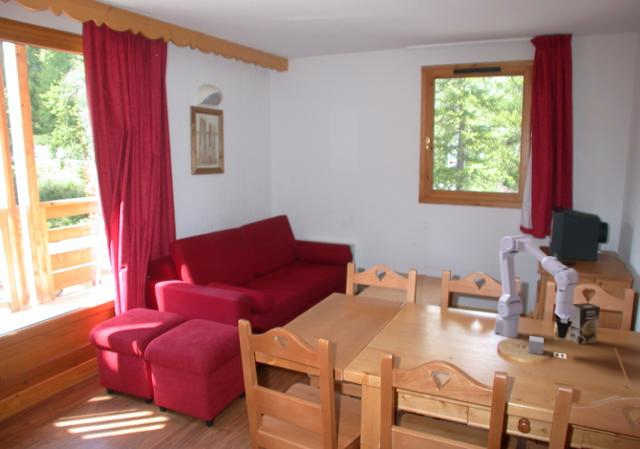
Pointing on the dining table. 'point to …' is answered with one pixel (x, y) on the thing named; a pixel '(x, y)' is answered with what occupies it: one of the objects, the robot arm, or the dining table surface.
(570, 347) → the dining table surface
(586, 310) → the coffee box
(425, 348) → the dining table surface
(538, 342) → the grey block
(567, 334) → the maple block
